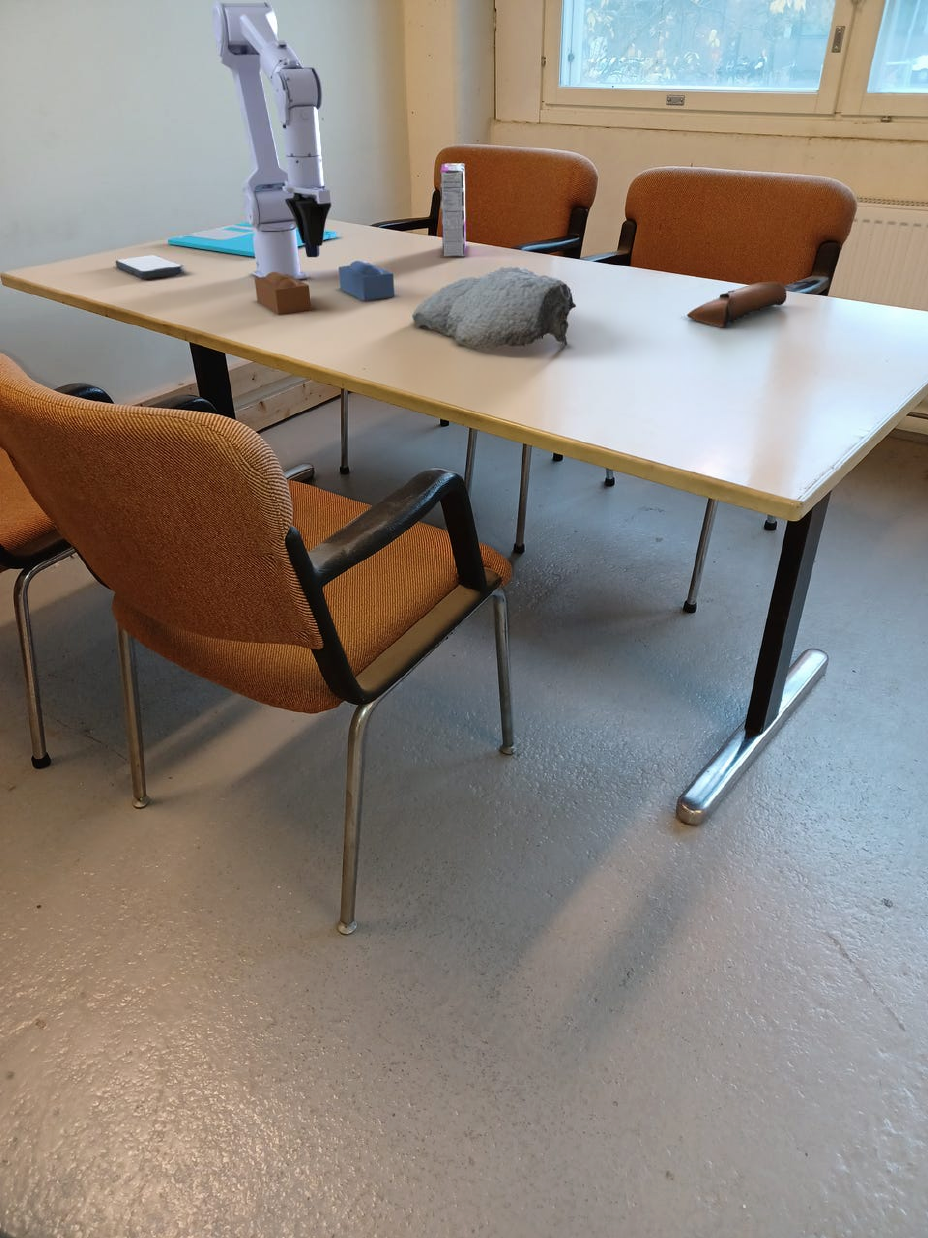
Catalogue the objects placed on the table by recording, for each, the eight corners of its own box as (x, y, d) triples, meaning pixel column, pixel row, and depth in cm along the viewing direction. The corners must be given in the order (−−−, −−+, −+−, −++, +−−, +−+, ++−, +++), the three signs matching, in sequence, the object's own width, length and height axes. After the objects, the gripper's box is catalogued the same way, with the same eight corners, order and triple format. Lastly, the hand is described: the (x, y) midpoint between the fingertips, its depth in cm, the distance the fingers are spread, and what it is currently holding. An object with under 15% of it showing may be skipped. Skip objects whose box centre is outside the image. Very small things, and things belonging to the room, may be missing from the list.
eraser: (308, 254, 153) (304, 211, 149) (321, 254, 153) (317, 211, 149) (305, 257, 152) (300, 214, 148) (317, 257, 151) (313, 214, 147)
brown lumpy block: (257, 301, 155) (253, 271, 153) (289, 297, 158) (286, 267, 155) (278, 314, 148) (274, 283, 145) (311, 309, 151) (308, 278, 148)
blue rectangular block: (340, 289, 162) (338, 260, 159) (369, 285, 165) (367, 256, 162) (364, 301, 155) (362, 271, 152) (394, 296, 158) (393, 267, 155)
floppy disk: (258, 257, 185) (257, 252, 184) (167, 243, 197) (166, 239, 197) (338, 236, 203) (338, 232, 202) (250, 225, 216) (249, 220, 215)
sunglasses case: (740, 295, 154) (764, 263, 149) (768, 323, 153) (793, 292, 147) (683, 315, 144) (706, 282, 139) (712, 345, 142) (737, 313, 137)
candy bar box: (443, 246, 194) (441, 162, 185) (465, 246, 194) (465, 162, 185) (441, 257, 184) (439, 170, 175) (465, 257, 184) (464, 169, 175)
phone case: (114, 268, 179) (143, 280, 169) (112, 259, 178) (141, 271, 168) (156, 262, 184) (187, 274, 173) (155, 254, 183) (185, 265, 172)
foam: (398, 322, 144) (394, 263, 139) (501, 300, 154) (501, 244, 149) (504, 365, 125) (505, 298, 119) (614, 337, 135) (619, 275, 130)
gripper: (264, 152, 147) (274, 239, 155) (297, 161, 137) (306, 254, 144) (303, 149, 150) (311, 235, 158) (339, 158, 140) (346, 249, 147)
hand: (312, 244), depth 151 cm, fingers closed on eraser, 3 cm apart
